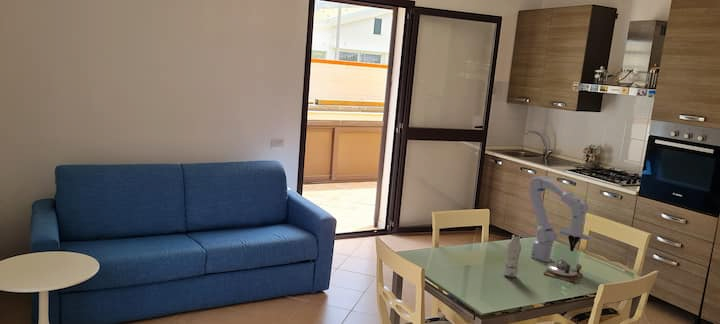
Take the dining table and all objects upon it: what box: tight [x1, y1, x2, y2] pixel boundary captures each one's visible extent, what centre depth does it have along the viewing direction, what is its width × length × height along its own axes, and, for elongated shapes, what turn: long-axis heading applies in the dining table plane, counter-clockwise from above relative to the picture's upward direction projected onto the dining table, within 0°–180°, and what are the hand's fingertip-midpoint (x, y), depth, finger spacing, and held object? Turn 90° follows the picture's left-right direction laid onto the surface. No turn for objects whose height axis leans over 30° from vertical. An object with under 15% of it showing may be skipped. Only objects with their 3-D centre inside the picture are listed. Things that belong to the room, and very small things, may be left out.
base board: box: [543, 263, 583, 285], centre depth 274 cm, size 16×16×5 cm
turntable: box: [546, 262, 577, 277], centre depth 275 cm, size 14×14×6 cm
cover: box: [556, 259, 569, 270], centre depth 274 cm, size 5×5×4 cm
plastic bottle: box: [502, 234, 522, 278], centre depth 262 cm, size 6×7×20 cm
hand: (571, 250), depth 281 cm, fingers closed
